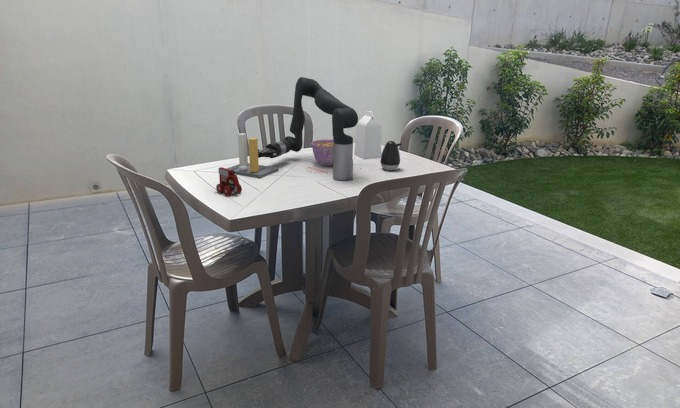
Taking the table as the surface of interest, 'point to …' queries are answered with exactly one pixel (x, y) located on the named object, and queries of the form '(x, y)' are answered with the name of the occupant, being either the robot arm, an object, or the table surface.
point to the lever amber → (253, 154)
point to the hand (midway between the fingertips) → (255, 156)
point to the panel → (259, 174)
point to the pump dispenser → (390, 156)
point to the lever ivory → (242, 149)
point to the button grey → (243, 168)
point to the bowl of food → (323, 151)
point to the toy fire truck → (228, 182)
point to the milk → (368, 137)
